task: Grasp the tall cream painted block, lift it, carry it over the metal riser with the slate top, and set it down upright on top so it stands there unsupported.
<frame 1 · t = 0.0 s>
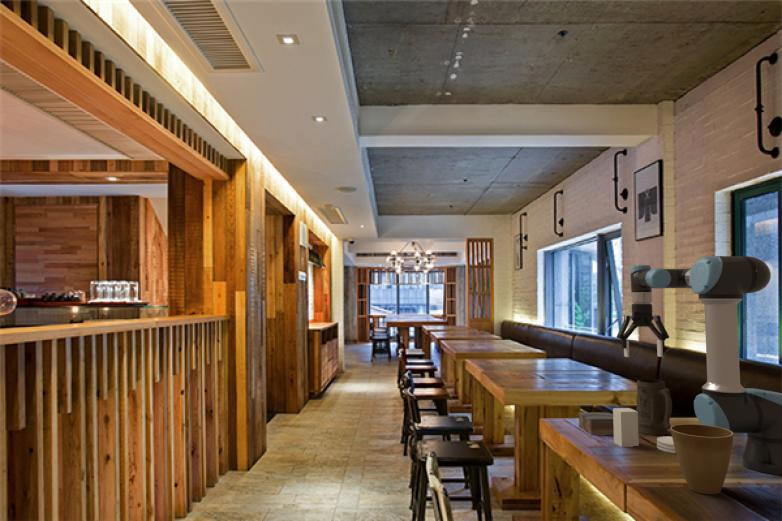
hand: (643, 356, 214), 28 cm above the table, fingers open, 13 cm apart
metal riser: (600, 431, 208), on the table
beer stein: (657, 433, 204), on the table
cream block: (626, 444, 189), on the table
plant pot: (703, 490, 145), on the table
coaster: (673, 450, 183), on the table
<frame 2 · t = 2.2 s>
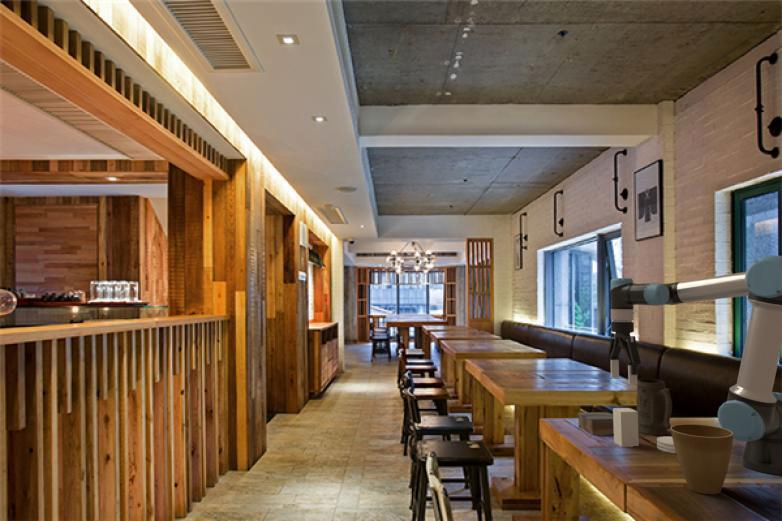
hand: (623, 381, 191), 22 cm above the table, fingers open, 13 cm apart
nothing on the table moved.
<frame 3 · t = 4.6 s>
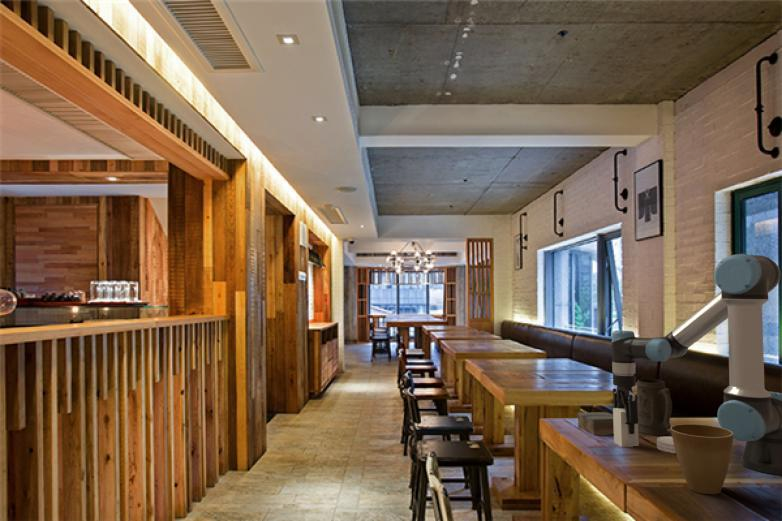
hand: (626, 440, 189), 1 cm above the table, fingers closed on cream block, 6 cm apart
cream block: (626, 444, 189), on the table, touching gripper
everything else where it was.
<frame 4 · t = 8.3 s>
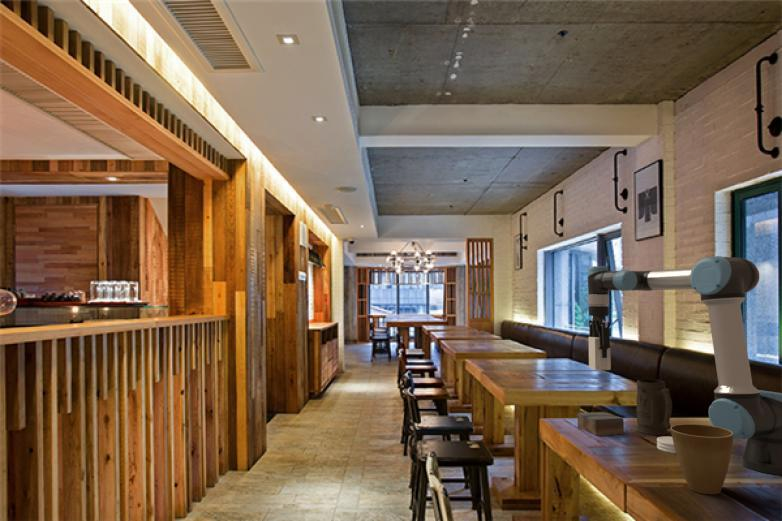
hand: (599, 365, 208), 25 cm above the table, fingers closed on cream block, 6 cm apart
cream block: (599, 368, 208), point 24 cm above the table, touching gripper
everything else where it was.
when the fingers open (9 cm above the table, at t = 11.9 s): cream block drops 2 cm, resting on metal riser.
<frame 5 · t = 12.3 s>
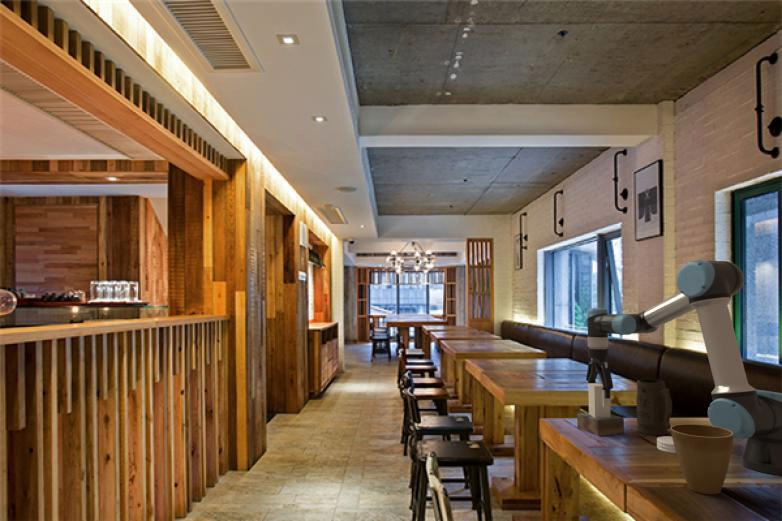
hand: (599, 403, 209), 10 cm above the table, fingers open, 12 cm apart
metal riser: (600, 431, 208), on the table, touching cream block
cream block: (599, 415, 208), point 6 cm above the table, touching metal riser
everything else where it was.
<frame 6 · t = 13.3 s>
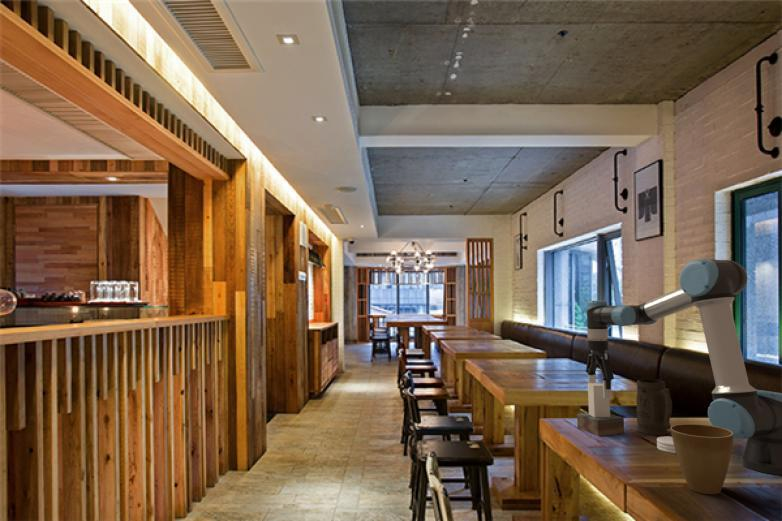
hand: (599, 394, 209), 14 cm above the table, fingers open, 13 cm apart
nothing on the table moved.
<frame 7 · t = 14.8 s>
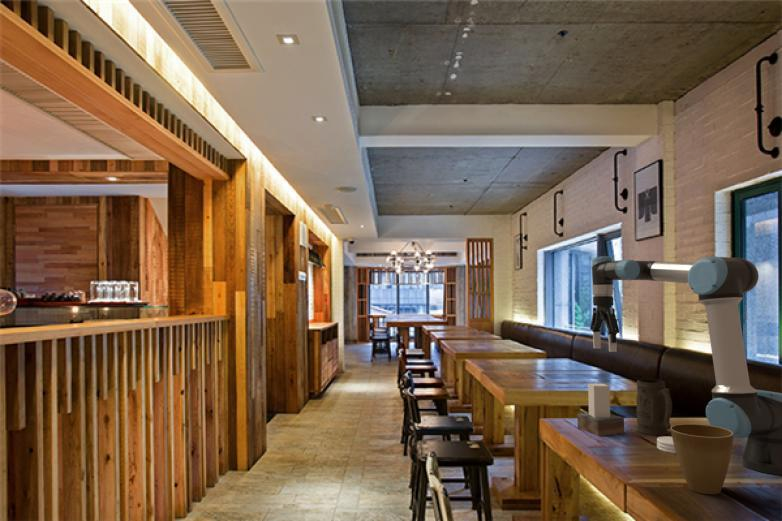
hand: (604, 350, 210), 31 cm above the table, fingers open, 13 cm apart
nothing on the table moved.
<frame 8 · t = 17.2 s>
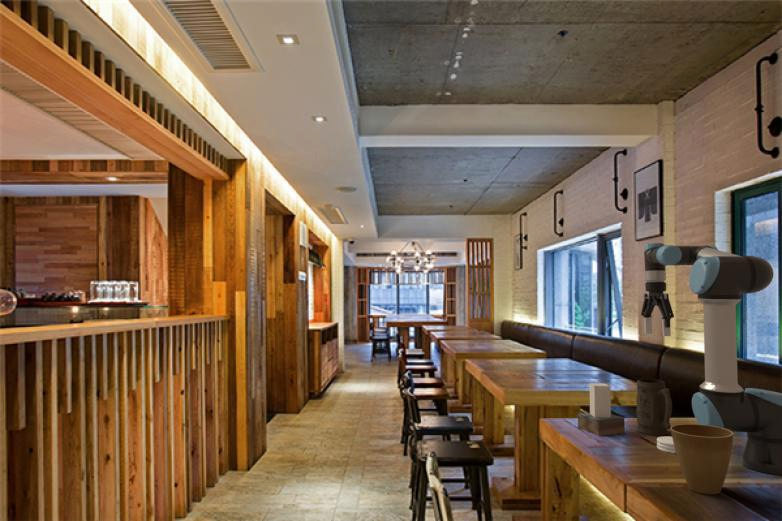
hand: (657, 334, 213), 37 cm above the table, fingers open, 13 cm apart
metal riser: (601, 431, 208), on the table
cream block: (600, 415, 208), point 6 cm above the table
everything else where it was.
at the end: cream block inside the target area on the metal riser (0.2 cm from its centre), point 6.0 cm above the metal riser's base; cream block tilted 1°; the gripper is holding nothing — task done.
